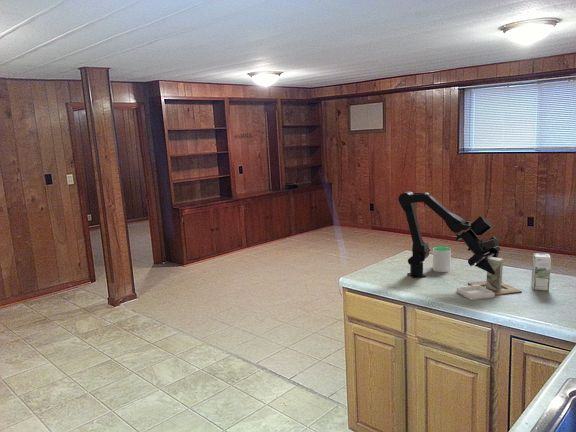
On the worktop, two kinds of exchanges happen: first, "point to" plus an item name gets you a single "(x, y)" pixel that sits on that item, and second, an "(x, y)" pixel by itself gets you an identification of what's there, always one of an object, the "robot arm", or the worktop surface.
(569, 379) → the worktop surface
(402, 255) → the worktop surface
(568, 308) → the worktop surface
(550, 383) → the worktop surface
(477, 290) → the white tray
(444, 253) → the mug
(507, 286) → the walnut frame
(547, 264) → the syrup box
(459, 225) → the robot arm
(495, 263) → the box
